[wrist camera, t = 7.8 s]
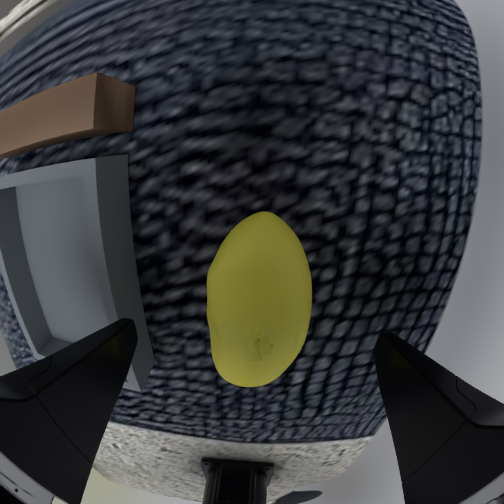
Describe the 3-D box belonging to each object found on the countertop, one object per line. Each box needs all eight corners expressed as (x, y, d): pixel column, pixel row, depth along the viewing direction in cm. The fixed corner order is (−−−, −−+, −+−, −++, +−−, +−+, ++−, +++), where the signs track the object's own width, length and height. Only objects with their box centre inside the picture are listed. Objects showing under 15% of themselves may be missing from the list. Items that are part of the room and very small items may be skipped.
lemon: (207, 348, 14) (192, 404, 10) (223, 194, 11) (201, 218, 7) (285, 359, 14) (289, 417, 10) (325, 212, 11) (354, 244, 7)
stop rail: (133, 130, 10) (93, 128, 7) (11, 157, 10) (-26, 165, 7) (135, 86, 9) (97, 72, 6) (11, 124, 9) (-26, 128, 6)
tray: (155, 361, 14) (140, 391, 12) (54, 337, 14) (35, 358, 12) (127, 154, 10) (95, 157, 8) (16, 172, 10) (-15, 180, 8)
